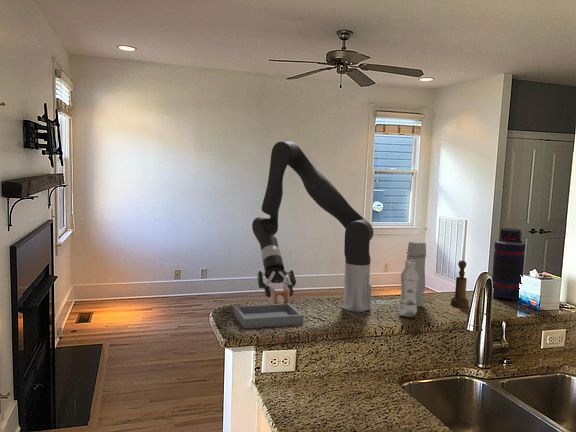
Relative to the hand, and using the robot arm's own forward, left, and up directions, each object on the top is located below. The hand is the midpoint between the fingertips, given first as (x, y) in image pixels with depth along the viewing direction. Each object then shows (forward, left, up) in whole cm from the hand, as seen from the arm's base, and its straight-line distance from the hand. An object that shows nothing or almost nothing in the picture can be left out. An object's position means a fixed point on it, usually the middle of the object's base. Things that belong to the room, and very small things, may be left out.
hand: (280, 296), depth 170 cm
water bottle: (-54, +6, -5) cm, 54 cm away
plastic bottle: (-42, +19, -5) cm, 46 cm away
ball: (0, -2, -2) cm, 3 cm away
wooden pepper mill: (-72, +10, -5) cm, 73 cm away
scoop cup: (0, -1, -5) cm, 5 cm away
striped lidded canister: (-102, +3, -5) cm, 102 cm away
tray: (+8, +12, -5) cm, 15 cm away
